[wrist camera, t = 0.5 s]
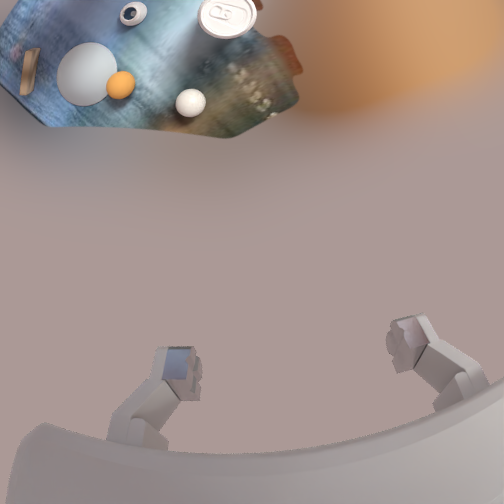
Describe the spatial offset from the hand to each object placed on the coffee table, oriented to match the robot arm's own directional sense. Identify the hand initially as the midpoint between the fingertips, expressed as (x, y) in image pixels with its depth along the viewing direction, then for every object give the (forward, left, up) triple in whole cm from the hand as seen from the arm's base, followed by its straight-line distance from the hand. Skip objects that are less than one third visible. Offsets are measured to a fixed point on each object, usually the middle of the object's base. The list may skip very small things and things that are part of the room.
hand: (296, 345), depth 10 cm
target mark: (+8, -28, -49) cm, 57 cm away
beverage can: (-10, -6, -49) cm, 50 cm away
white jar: (-5, -22, -49) cm, 54 cm away
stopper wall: (+8, -42, -49) cm, 65 cm away
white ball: (+8, -5, -46) cm, 47 cm away
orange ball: (+8, -19, -46) cm, 50 cm away
